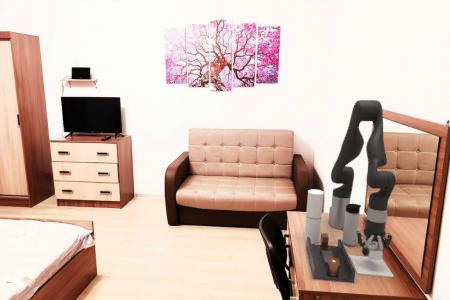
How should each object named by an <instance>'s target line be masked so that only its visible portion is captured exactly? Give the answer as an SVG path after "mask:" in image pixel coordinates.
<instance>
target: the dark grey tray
mask: <svg viewBox="0 0 450 300" xmlns="http://www.w3.org/2000/svg"><path fill="white" fill-rule="evenodd" d="M329 239H330V237H329V235H328V233H326V232H325V233H324V232H320V240H319V244H318V243H311V241H310V237H307V242H306V241H305V242H306V246H305V248H306V252H307V256H308V259H309V260H308V261H309V265H310V269H311V273H312V278H313V280H321V281H333V282H342V283H343V282H344V283H355V277H356V270H355V268H354V266H353V264H352V262H351V259H350V257H349V255H348V252H347V249H346V248H345V245H344V244H343V243H342V240H341V238H339V239H337V244H336V245H329Z"/></svg>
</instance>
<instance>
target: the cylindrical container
mask: <svg viewBox="0 0 450 300" xmlns="http://www.w3.org/2000/svg"><path fill="white" fill-rule="evenodd" d="M306 203H307V204H306V212H305V213H306V216H305V227H304V229H305V231H304V241H305V242H307V237H310V241H311V244H319V243H320V240H321V226H322V215H323V203H324V191H323V190H320V189H316V188H315V189H309V190H308V191H307V202H306Z"/></svg>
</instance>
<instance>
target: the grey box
mask: <svg viewBox="0 0 450 300" xmlns="http://www.w3.org/2000/svg"><path fill="white" fill-rule="evenodd" d="M363 242H364V240H362V243H363ZM366 257H368V259H369V260H381V261H382V259H383V251H382V250H381V248H380V247H379V245H378V243H377V242H375V241H373V242H370V244H368V246H367V254H366Z"/></svg>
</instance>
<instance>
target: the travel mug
mask: <svg viewBox="0 0 450 300" xmlns="http://www.w3.org/2000/svg"><path fill="white" fill-rule="evenodd" d="M361 208H362V205H361V204H358V203H350V204H347V205H346V212H345V220H344V229H342V230H343V233H342V240H341V241H342V243H343V245H344V246H347V247H355V246H356V245H357V241H358V239H357V231H359V230H358V229H359V222H360V221H359V220H360V213H361V212H360V210H361Z"/></svg>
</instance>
